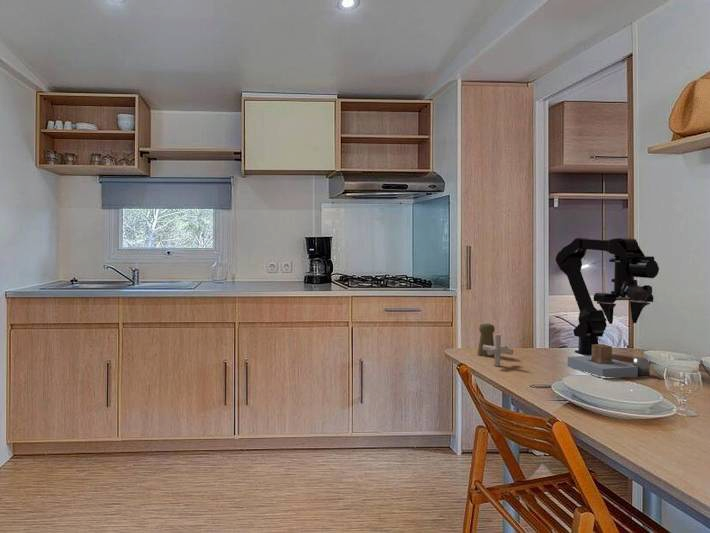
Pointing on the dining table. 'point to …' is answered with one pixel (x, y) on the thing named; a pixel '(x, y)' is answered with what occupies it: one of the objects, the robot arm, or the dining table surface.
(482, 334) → the dark green pepper mill
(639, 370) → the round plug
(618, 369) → the bore block
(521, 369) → the dining table surface
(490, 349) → the pipe connector
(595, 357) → the square peg
